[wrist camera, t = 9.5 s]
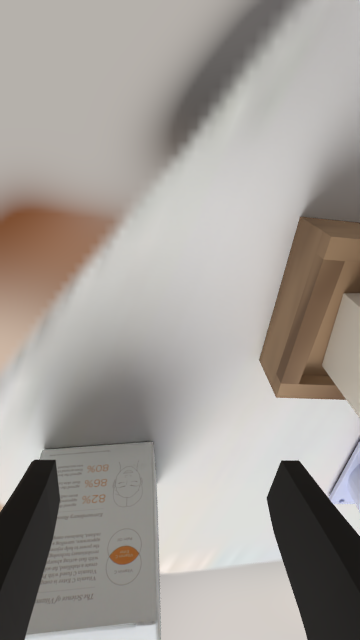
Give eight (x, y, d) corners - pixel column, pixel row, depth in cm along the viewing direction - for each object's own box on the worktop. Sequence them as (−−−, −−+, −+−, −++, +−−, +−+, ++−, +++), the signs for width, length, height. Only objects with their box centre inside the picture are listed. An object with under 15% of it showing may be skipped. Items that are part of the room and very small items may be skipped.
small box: (56, 494, 27) (8, 685, 18) (41, 446, 24) (-24, 645, 15) (158, 486, 27) (162, 668, 18) (155, 439, 24) (158, 626, 15)
